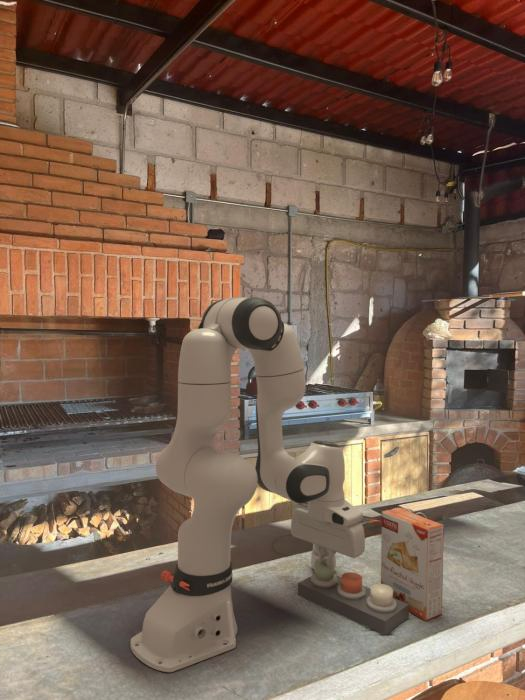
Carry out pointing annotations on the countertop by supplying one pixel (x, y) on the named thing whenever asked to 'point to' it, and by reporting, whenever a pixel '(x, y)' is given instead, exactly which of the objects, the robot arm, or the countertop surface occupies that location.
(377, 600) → the button cream
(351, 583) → the button orange
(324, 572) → the button sage
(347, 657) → the countertop surface
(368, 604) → the button panel
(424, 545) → the cracker box
